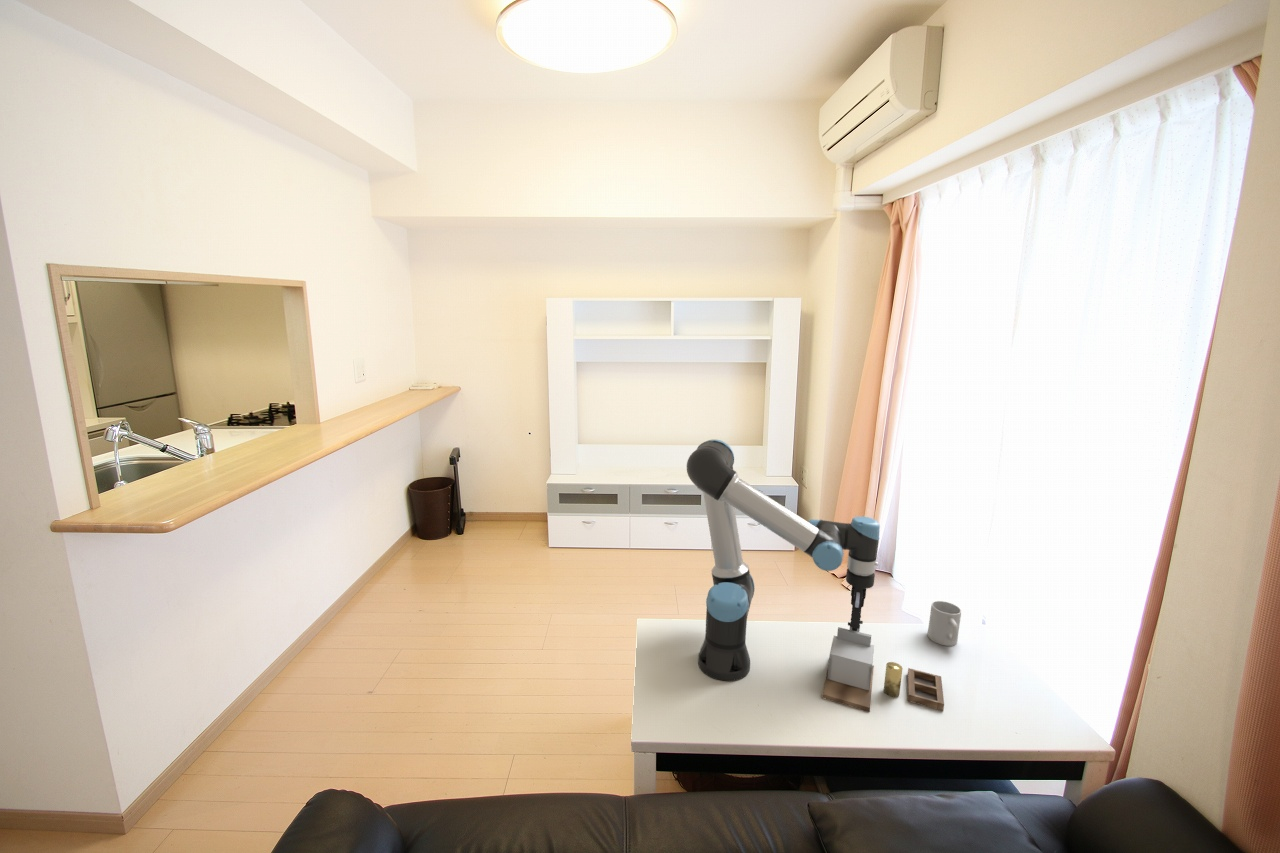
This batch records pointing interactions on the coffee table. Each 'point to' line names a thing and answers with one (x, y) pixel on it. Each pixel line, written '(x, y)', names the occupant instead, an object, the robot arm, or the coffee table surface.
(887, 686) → the peg
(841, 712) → the coffee table surface
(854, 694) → the pattern board
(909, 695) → the socket block
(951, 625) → the mug
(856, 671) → the cover
